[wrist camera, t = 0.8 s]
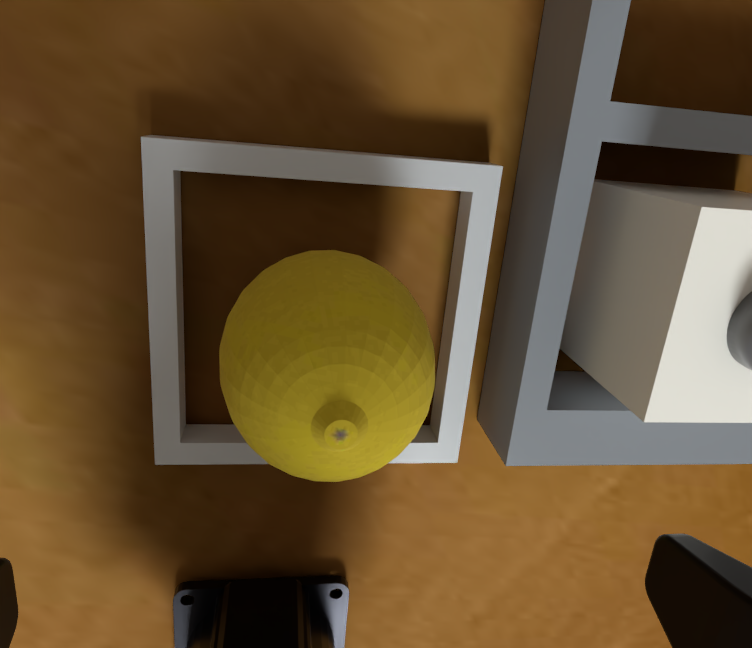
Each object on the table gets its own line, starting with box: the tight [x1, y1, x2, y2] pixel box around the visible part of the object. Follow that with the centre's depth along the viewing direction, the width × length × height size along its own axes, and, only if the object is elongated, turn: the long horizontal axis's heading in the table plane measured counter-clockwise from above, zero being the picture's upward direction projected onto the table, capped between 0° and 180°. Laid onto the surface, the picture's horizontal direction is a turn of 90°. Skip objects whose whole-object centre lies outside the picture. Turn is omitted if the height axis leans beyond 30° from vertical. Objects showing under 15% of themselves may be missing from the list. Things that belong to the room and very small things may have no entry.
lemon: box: [219, 250, 435, 482], centre depth 16 cm, size 6×6×8 cm
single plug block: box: [559, 179, 752, 423], centre depth 17 cm, size 6×6×7 cm
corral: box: [141, 135, 503, 465], centre depth 19 cm, size 10×10×1 cm
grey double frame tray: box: [477, 0, 752, 466], centre depth 18 cm, size 21×10×3 cm, turn 175°
